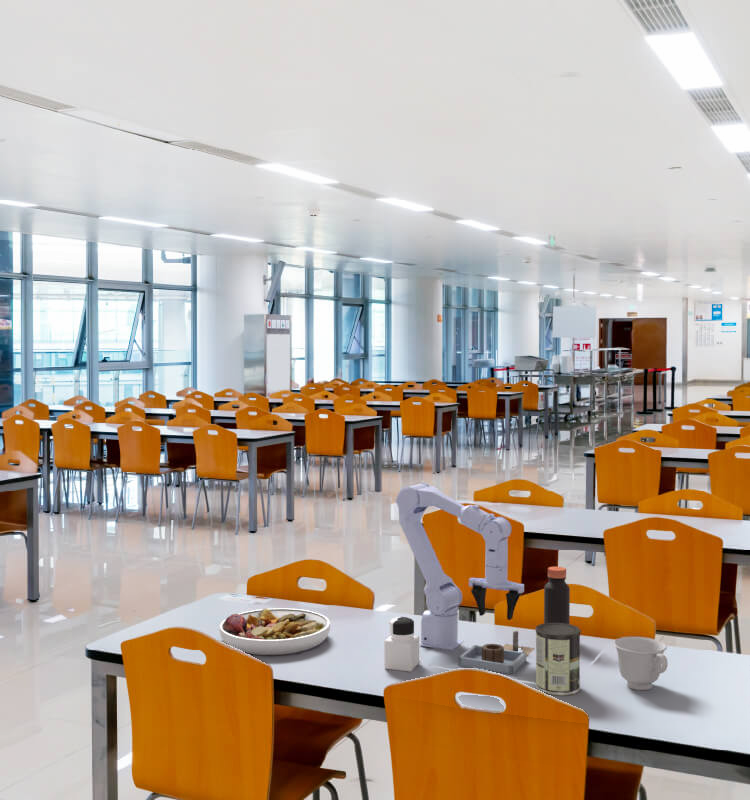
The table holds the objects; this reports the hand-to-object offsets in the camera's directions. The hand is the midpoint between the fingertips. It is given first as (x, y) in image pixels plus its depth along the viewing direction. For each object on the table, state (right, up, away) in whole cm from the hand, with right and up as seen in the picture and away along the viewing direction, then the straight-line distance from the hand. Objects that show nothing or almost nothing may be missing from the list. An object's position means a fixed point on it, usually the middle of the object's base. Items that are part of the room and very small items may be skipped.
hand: (495, 616), depth 237 cm
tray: (-2, -11, -7) cm, 13 cm away
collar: (-2, -10, -7) cm, 12 cm away
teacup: (+32, -11, -23) cm, 41 cm away
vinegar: (+18, -10, +12) cm, 24 cm away
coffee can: (+11, -12, -23) cm, 28 cm away
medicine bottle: (-25, -11, -7) cm, 28 cm away
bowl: (-59, -10, +14) cm, 61 cm away
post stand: (+6, -10, +3) cm, 12 cm away
